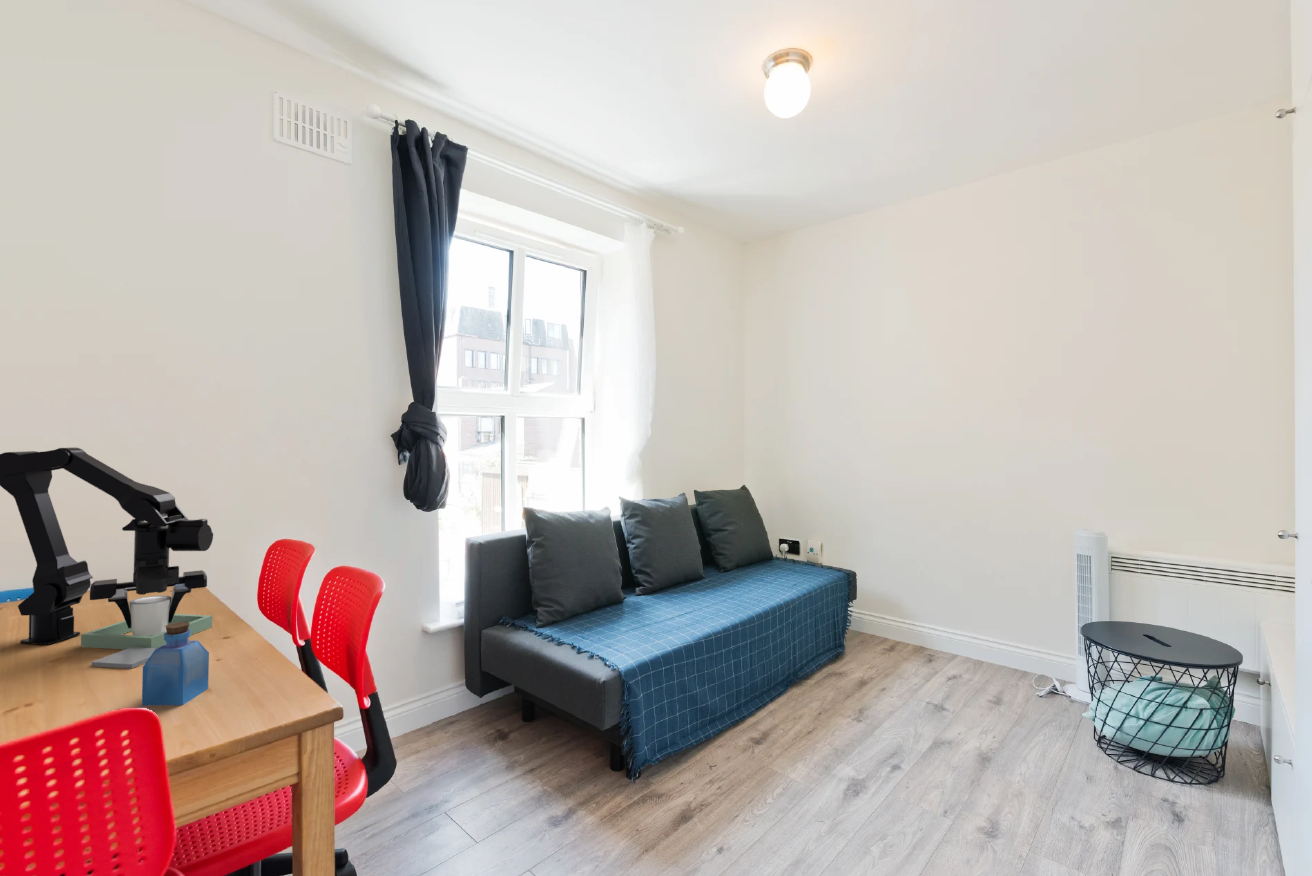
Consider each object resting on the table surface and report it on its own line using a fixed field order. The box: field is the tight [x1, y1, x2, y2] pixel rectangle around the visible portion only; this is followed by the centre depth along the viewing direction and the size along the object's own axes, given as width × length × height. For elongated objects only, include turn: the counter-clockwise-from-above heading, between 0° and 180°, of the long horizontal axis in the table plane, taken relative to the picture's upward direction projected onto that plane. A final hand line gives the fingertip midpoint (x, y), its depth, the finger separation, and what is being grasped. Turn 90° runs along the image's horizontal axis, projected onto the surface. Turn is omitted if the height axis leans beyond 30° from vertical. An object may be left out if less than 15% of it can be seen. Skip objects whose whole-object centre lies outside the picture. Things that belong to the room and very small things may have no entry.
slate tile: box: [90, 647, 157, 669], centre depth 115 cm, size 8×8×1 cm
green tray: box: [80, 613, 213, 650], centre depth 128 cm, size 15×15×2 cm
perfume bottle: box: [141, 622, 210, 706], centre depth 100 cm, size 6×6×12 cm
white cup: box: [129, 595, 172, 636], centre depth 127 cm, size 7×7×7 cm
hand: (150, 625), depth 127 cm, fingers closed on white cup, 6 cm apart
